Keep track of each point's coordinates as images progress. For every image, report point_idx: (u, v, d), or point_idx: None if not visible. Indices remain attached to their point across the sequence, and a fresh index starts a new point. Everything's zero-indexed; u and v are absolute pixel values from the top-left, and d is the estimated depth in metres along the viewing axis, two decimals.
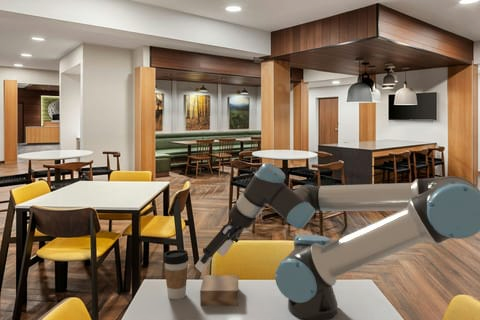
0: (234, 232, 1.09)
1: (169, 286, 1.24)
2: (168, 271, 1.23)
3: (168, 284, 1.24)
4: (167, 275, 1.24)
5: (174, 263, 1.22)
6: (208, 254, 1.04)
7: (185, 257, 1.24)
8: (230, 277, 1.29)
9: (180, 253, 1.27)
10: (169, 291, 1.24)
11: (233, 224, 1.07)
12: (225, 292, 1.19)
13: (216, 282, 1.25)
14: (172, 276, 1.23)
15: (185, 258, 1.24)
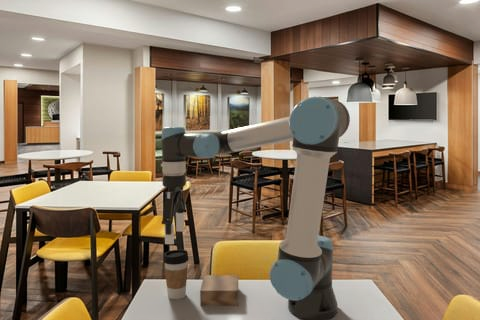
0: (177, 195, 1.21)
1: (169, 286, 1.24)
2: (168, 271, 1.23)
3: (168, 284, 1.24)
4: (167, 275, 1.24)
5: (174, 263, 1.22)
6: (168, 221, 1.14)
7: (185, 257, 1.24)
8: (230, 277, 1.29)
9: (180, 253, 1.27)
10: (169, 291, 1.24)
11: (171, 189, 1.20)
12: (225, 292, 1.19)
13: (216, 282, 1.25)
14: (172, 276, 1.23)
15: (185, 258, 1.24)
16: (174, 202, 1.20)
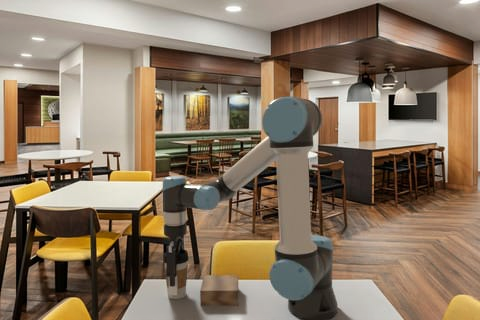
0: (178, 245, 1.23)
1: None
2: None
3: (168, 284, 1.24)
4: None
5: None
6: (172, 274, 1.19)
7: (185, 257, 1.24)
8: (230, 277, 1.29)
9: (180, 253, 1.27)
10: None
11: (172, 239, 1.21)
12: (225, 292, 1.19)
13: (216, 282, 1.25)
14: None
15: (185, 258, 1.24)
16: (176, 253, 1.22)
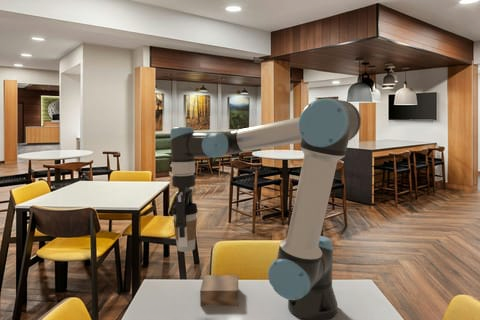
0: (187, 197, 1.21)
1: None
2: None
3: (177, 236, 1.22)
4: (176, 227, 1.21)
5: None
6: (181, 224, 1.17)
7: (194, 208, 1.22)
8: (230, 277, 1.29)
9: (189, 206, 1.25)
10: None
11: (181, 189, 1.19)
12: (225, 292, 1.19)
13: (216, 282, 1.25)
14: None
15: (194, 209, 1.22)
16: (185, 204, 1.20)
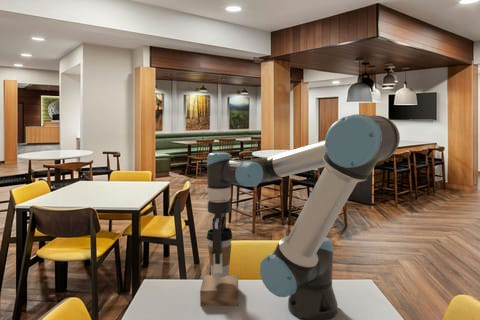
0: (223, 223, 1.21)
1: (213, 264, 1.22)
2: None
3: (212, 262, 1.22)
4: None
5: None
6: (218, 251, 1.16)
7: (229, 234, 1.22)
8: (230, 277, 1.29)
9: None
10: (213, 269, 1.22)
11: (218, 215, 1.19)
12: (225, 292, 1.19)
13: (216, 282, 1.25)
14: None
15: (230, 235, 1.22)
16: (221, 230, 1.20)
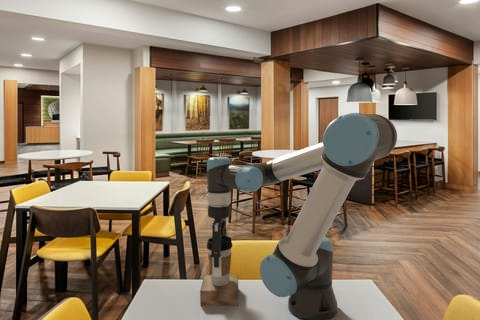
0: (223, 227, 1.21)
1: None
2: None
3: (212, 271, 1.22)
4: (211, 262, 1.22)
5: None
6: (217, 254, 1.14)
7: (229, 243, 1.22)
8: (230, 277, 1.29)
9: (223, 239, 1.25)
10: (214, 278, 1.22)
11: (218, 220, 1.19)
12: (225, 292, 1.19)
13: None
14: None
15: (229, 244, 1.21)
16: (221, 234, 1.20)
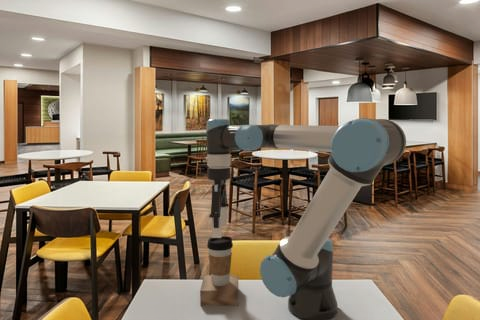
0: (222, 189, 1.19)
1: (213, 272, 1.22)
2: (213, 257, 1.21)
3: (212, 271, 1.22)
4: (212, 261, 1.22)
5: (219, 249, 1.20)
6: (216, 214, 1.12)
7: (230, 243, 1.22)
8: (230, 277, 1.29)
9: (224, 240, 1.25)
10: (214, 277, 1.23)
11: (217, 182, 1.18)
12: (225, 292, 1.19)
13: None
14: (217, 262, 1.21)
15: (230, 244, 1.22)
16: (220, 195, 1.18)
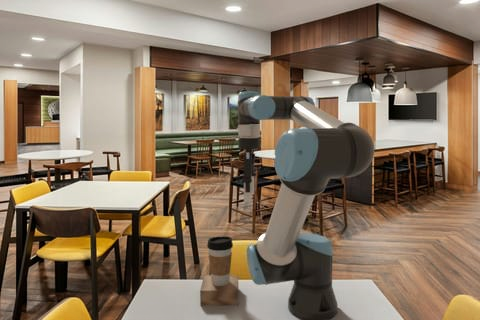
0: (253, 157, 1.28)
1: (213, 272, 1.22)
2: (213, 257, 1.21)
3: (212, 271, 1.22)
4: (212, 261, 1.22)
5: (219, 249, 1.20)
6: (249, 179, 1.21)
7: (230, 243, 1.22)
8: (230, 277, 1.29)
9: (224, 240, 1.25)
10: (214, 277, 1.23)
11: (248, 150, 1.27)
12: (225, 292, 1.19)
13: None
14: (217, 262, 1.21)
15: (230, 244, 1.22)
16: None
